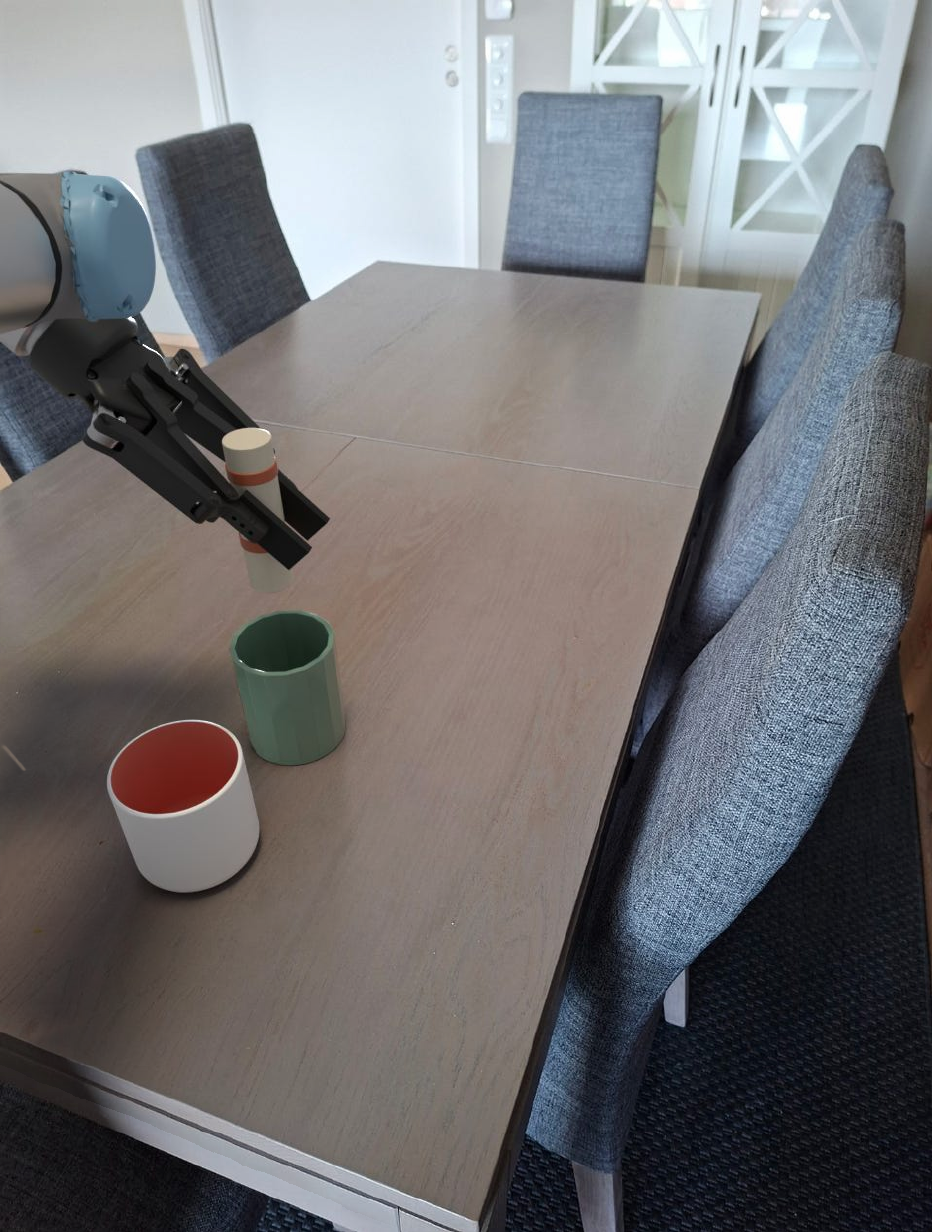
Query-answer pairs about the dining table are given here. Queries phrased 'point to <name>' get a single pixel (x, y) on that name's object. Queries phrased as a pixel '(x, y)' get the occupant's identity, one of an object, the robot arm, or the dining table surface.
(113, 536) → the dining table surface
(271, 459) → the cream banded cylinder
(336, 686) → the tumbler
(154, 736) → the cup
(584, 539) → the dining table surface
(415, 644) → the dining table surface
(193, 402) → the robot arm
